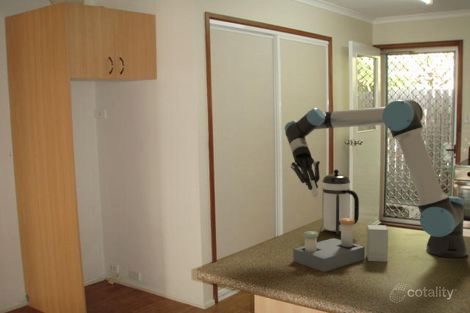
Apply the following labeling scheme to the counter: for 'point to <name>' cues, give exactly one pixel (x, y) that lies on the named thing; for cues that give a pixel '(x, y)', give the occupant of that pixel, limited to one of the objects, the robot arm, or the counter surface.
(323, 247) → the console
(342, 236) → the orange capped cylinder
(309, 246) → the green capped cylinder
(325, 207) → the coffee press
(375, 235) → the supplement box
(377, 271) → the counter surface
